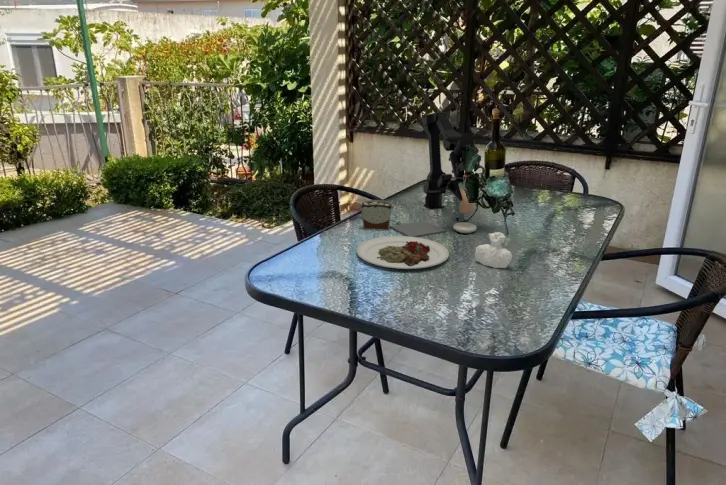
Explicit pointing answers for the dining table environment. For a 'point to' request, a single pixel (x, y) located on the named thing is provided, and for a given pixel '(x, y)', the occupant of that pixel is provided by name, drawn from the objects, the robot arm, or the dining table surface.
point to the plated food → (402, 252)
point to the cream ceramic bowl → (464, 227)
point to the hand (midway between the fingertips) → (468, 200)
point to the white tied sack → (494, 252)
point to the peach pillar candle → (465, 204)
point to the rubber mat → (417, 229)
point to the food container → (376, 214)
